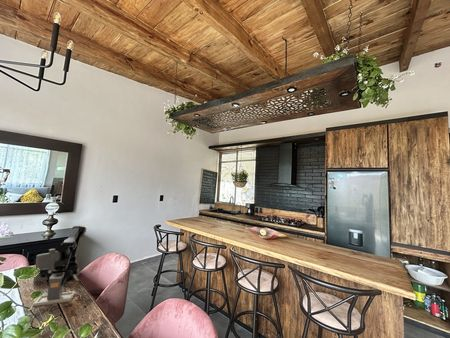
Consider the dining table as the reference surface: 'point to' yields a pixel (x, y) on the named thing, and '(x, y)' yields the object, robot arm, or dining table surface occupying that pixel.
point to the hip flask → (46, 263)
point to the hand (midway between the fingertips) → (55, 286)
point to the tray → (63, 298)
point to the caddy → (55, 286)
